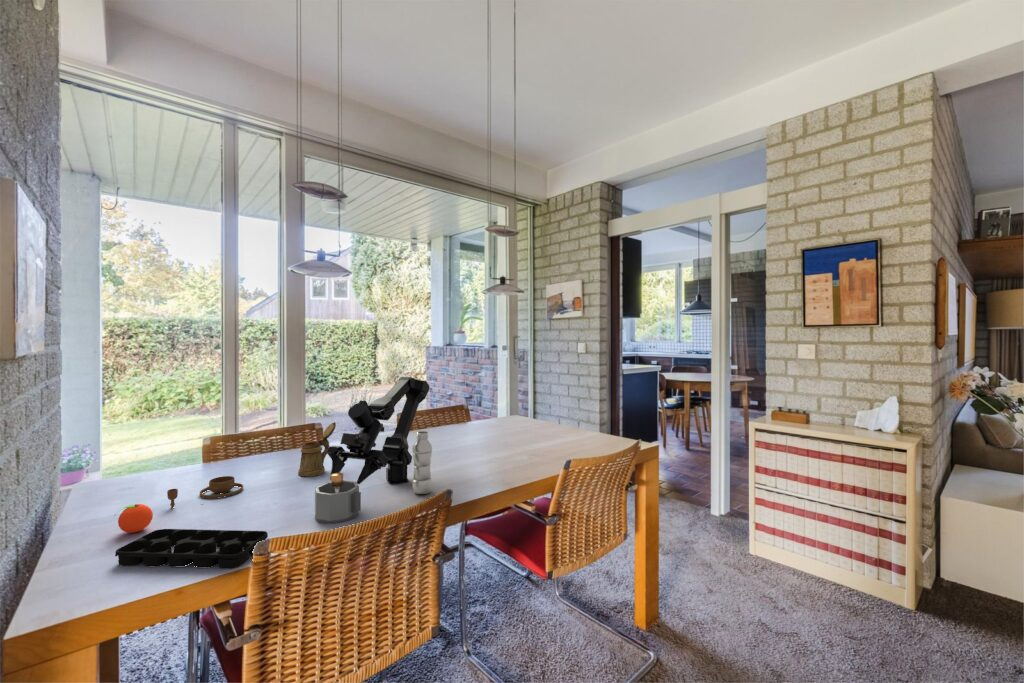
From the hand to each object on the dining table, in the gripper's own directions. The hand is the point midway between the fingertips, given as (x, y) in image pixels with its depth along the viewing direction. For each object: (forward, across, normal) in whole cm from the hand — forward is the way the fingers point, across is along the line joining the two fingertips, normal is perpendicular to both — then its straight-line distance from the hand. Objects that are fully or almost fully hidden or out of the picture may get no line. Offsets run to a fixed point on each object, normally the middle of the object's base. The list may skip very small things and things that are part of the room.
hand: (344, 482), depth 129 cm
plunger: (+7, 0, +3) cm, 8 cm away
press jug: (+8, 0, +4) cm, 9 cm away
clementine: (+26, -43, -14) cm, 52 cm away
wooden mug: (-13, -34, +26) cm, 45 cm away
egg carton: (+29, -16, -17) cm, 37 cm away
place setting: (+9, -50, +4) cm, 51 cm away
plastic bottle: (-8, +14, +21) cm, 26 cm away
